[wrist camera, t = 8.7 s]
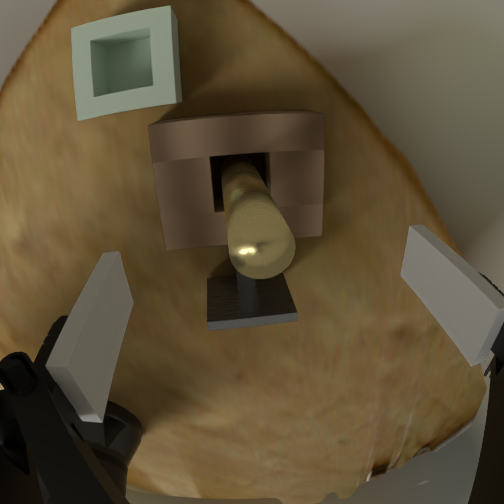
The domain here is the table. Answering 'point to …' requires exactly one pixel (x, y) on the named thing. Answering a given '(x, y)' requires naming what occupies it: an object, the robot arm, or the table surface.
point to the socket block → (227, 143)
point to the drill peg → (253, 222)
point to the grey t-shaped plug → (248, 302)
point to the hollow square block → (126, 62)
